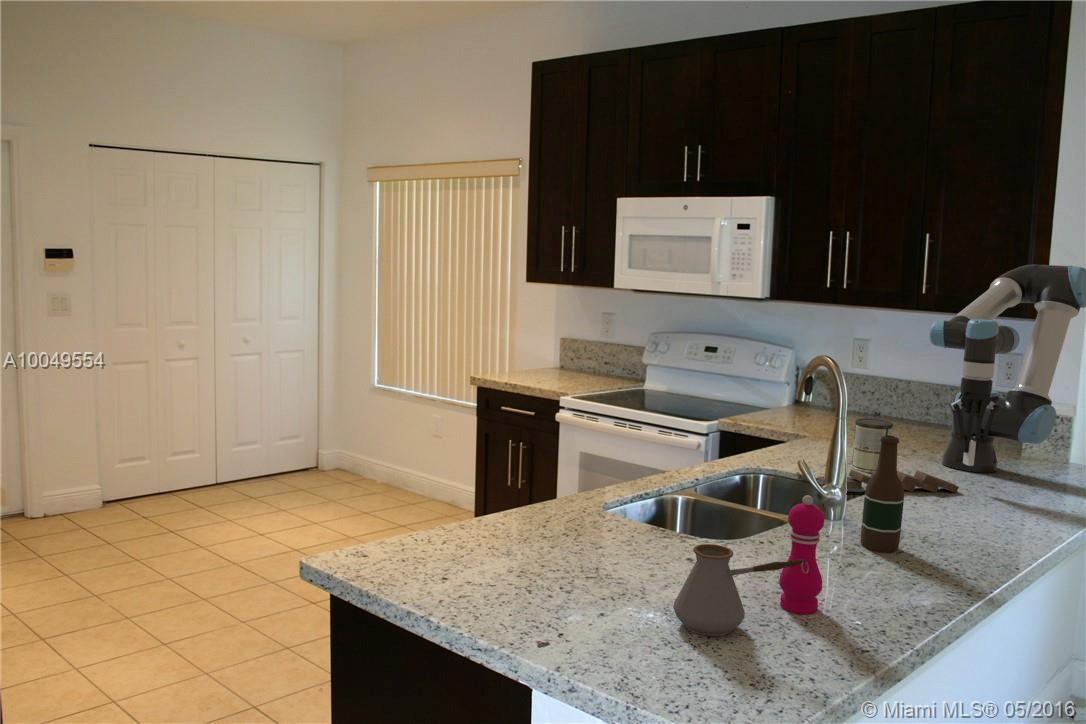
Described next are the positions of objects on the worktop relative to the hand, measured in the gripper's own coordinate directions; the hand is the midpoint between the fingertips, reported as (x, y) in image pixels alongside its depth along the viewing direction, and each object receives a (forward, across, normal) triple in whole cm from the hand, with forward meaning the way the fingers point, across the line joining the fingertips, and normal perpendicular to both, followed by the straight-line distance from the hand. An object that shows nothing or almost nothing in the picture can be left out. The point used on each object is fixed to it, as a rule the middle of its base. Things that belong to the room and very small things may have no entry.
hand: (968, 464), depth 245 cm
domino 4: (+6, +16, 0) cm, 18 cm away
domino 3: (+7, +30, +1) cm, 31 cm away
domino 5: (+6, +10, +1) cm, 12 cm away
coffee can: (+7, +17, -22) cm, 28 cm away
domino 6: (+6, +4, +1) cm, 8 cm away
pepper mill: (+6, +78, +80) cm, 112 cm away
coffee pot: (+6, +93, +92) cm, 131 cm away
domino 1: (+5, +32, +2) cm, 32 cm away
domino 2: (+6, +24, +1) cm, 24 cm away
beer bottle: (+7, +48, +48) cm, 68 cm away
